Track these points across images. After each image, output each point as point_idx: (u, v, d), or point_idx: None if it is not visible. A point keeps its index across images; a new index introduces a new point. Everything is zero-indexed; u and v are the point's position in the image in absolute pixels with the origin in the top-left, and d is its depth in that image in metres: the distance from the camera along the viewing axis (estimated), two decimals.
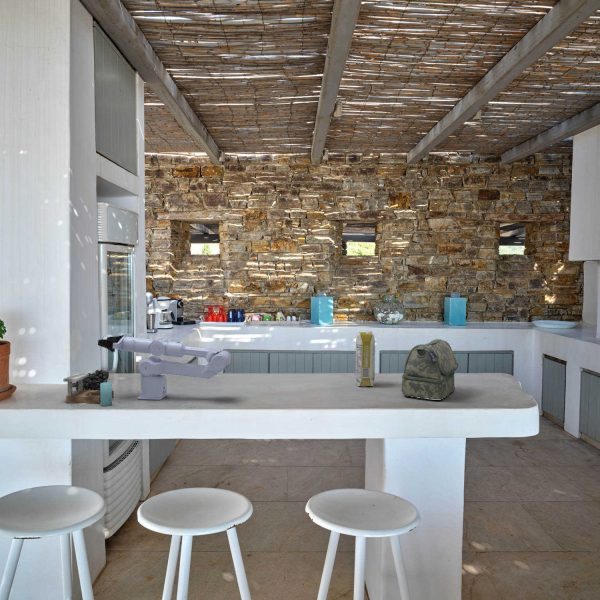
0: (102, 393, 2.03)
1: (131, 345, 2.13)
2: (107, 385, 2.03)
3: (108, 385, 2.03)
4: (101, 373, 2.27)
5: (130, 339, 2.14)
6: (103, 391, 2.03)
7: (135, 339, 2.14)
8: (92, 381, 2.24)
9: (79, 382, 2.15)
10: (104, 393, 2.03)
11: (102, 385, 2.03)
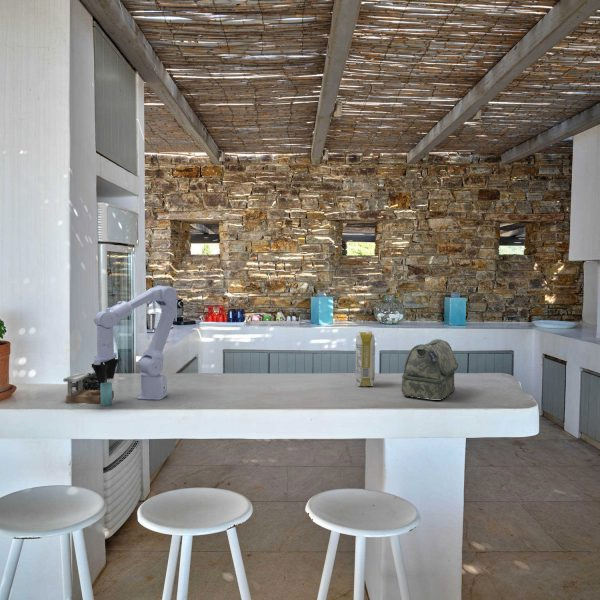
0: (102, 393, 2.03)
1: (102, 347, 2.01)
2: (107, 385, 2.03)
3: (108, 385, 2.03)
4: None
5: (97, 349, 2.02)
6: (103, 391, 2.03)
7: (97, 344, 2.02)
8: (92, 381, 2.24)
9: (79, 382, 2.15)
10: (104, 393, 2.03)
11: (102, 385, 2.03)
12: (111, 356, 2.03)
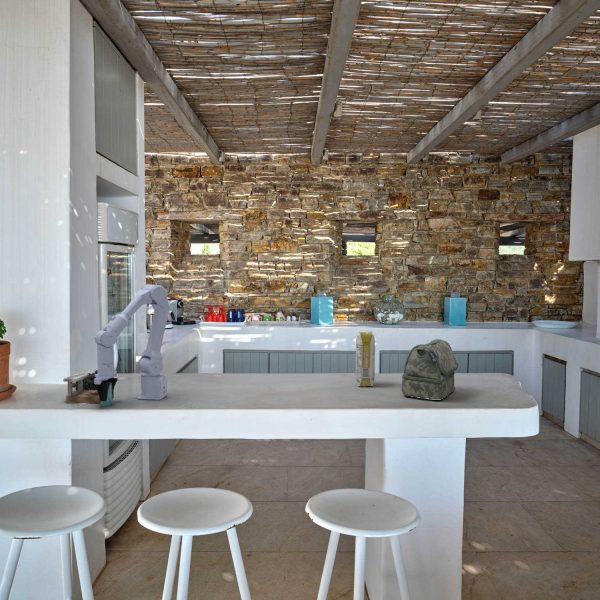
0: None
1: (102, 366, 2.01)
2: None
3: None
4: None
5: None
6: None
7: None
8: (92, 381, 2.24)
9: (79, 382, 2.15)
10: None
11: None
12: (111, 375, 2.03)
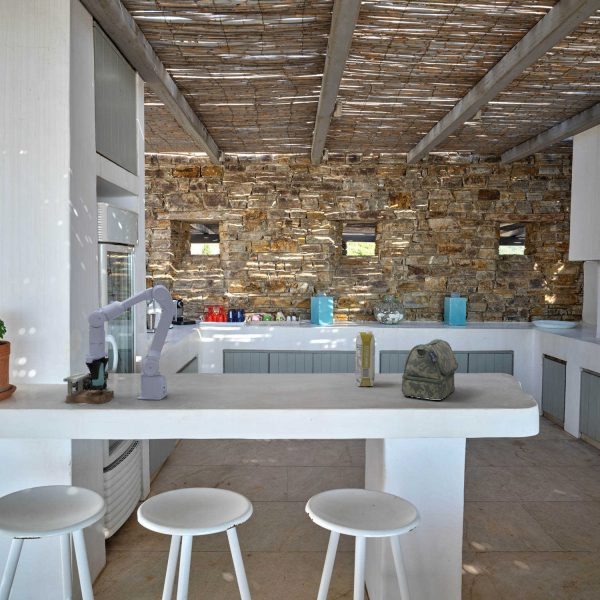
0: None
1: (93, 345, 2.07)
2: None
3: None
4: None
5: (89, 347, 2.09)
6: None
7: (89, 343, 2.09)
8: (91, 381, 2.24)
9: (79, 382, 2.15)
10: None
11: None
12: (103, 354, 2.09)
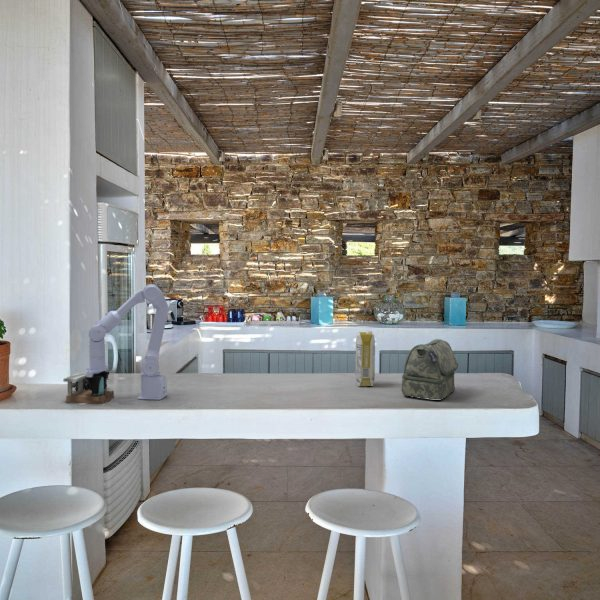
0: None
1: (94, 359, 2.08)
2: None
3: None
4: None
5: None
6: None
7: (89, 357, 2.09)
8: None
9: (79, 382, 2.15)
10: None
11: None
12: (103, 368, 2.10)
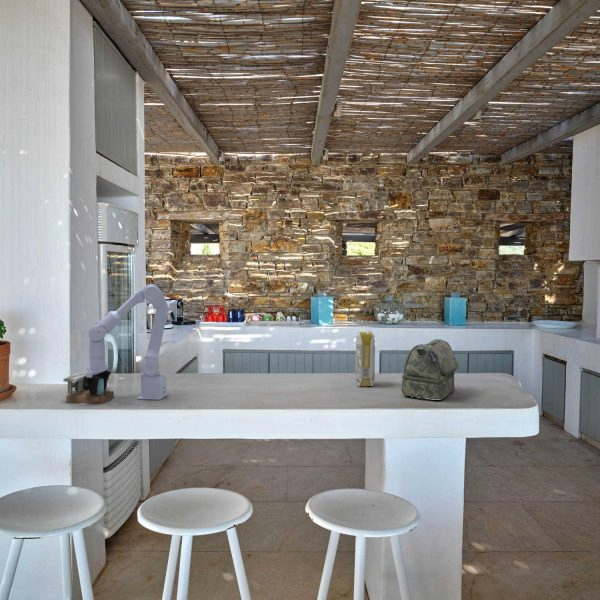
0: None
1: (94, 360, 2.08)
2: None
3: (99, 381, 2.10)
4: None
5: None
6: None
7: (89, 357, 2.09)
8: None
9: (79, 382, 2.15)
10: None
11: None
12: (103, 369, 2.10)
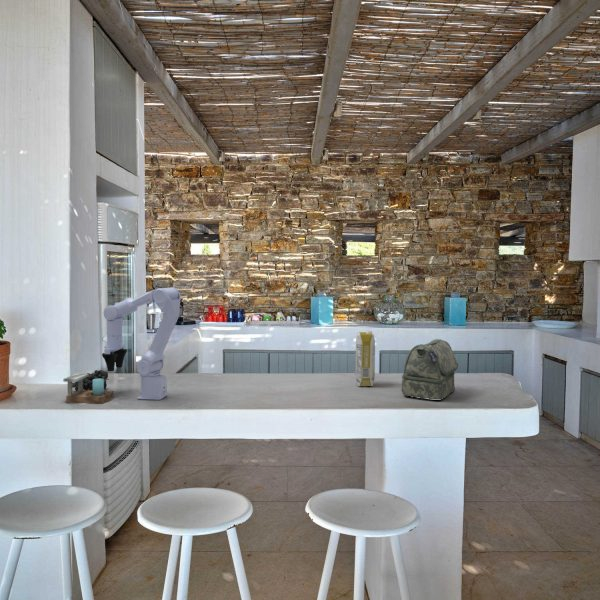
0: (94, 389, 2.10)
1: (111, 337, 2.18)
2: (98, 381, 2.09)
3: (99, 381, 2.10)
4: (100, 373, 2.26)
5: (107, 340, 2.19)
6: (94, 387, 2.09)
7: (107, 335, 2.19)
8: (91, 381, 2.23)
9: (79, 382, 2.15)
10: (96, 389, 2.09)
11: (94, 381, 2.09)
12: (120, 346, 2.20)
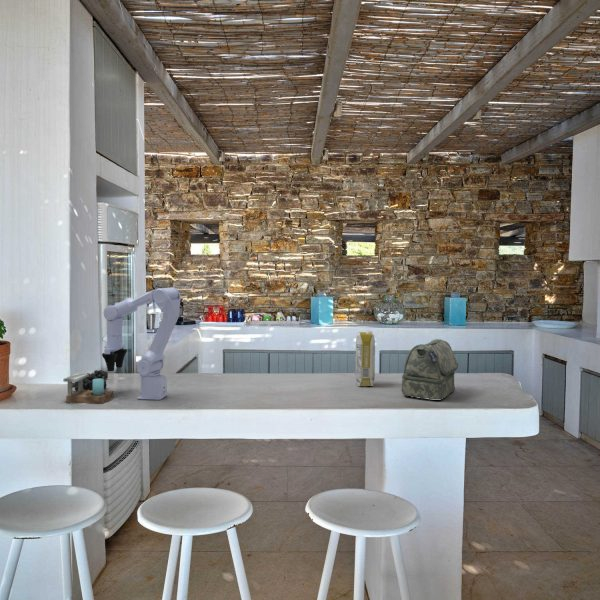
0: (94, 389, 2.10)
1: (111, 337, 2.18)
2: (98, 381, 2.09)
3: (99, 381, 2.10)
4: (100, 373, 2.26)
5: (107, 340, 2.19)
6: (94, 387, 2.09)
7: (107, 335, 2.19)
8: (91, 381, 2.23)
9: (79, 382, 2.15)
10: (96, 389, 2.09)
11: (94, 381, 2.09)
12: (120, 346, 2.20)
